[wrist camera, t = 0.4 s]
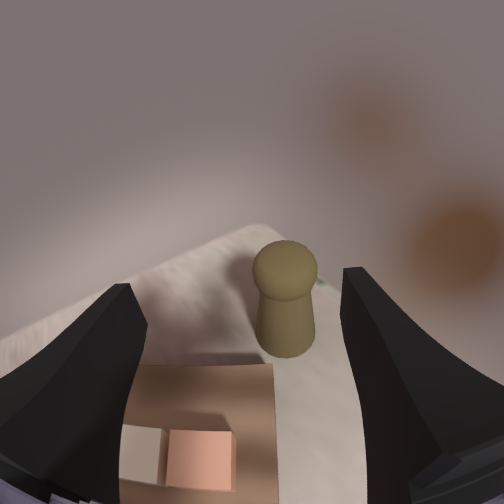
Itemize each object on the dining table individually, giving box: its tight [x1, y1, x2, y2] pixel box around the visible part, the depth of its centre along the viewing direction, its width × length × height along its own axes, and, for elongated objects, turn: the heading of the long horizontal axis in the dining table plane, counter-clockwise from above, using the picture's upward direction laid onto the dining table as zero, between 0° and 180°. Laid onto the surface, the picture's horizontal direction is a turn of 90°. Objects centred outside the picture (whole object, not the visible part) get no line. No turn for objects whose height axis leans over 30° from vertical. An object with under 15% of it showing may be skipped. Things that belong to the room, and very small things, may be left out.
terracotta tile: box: [166, 429, 236, 492], centre depth 19 cm, size 4×4×2 cm
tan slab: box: [119, 363, 279, 504], centre depth 21 cm, size 18×14×3 cm
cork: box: [252, 240, 317, 358], centre depth 28 cm, size 6×6×11 cm
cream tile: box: [119, 424, 170, 487], centre depth 19 cm, size 4×4×2 cm
